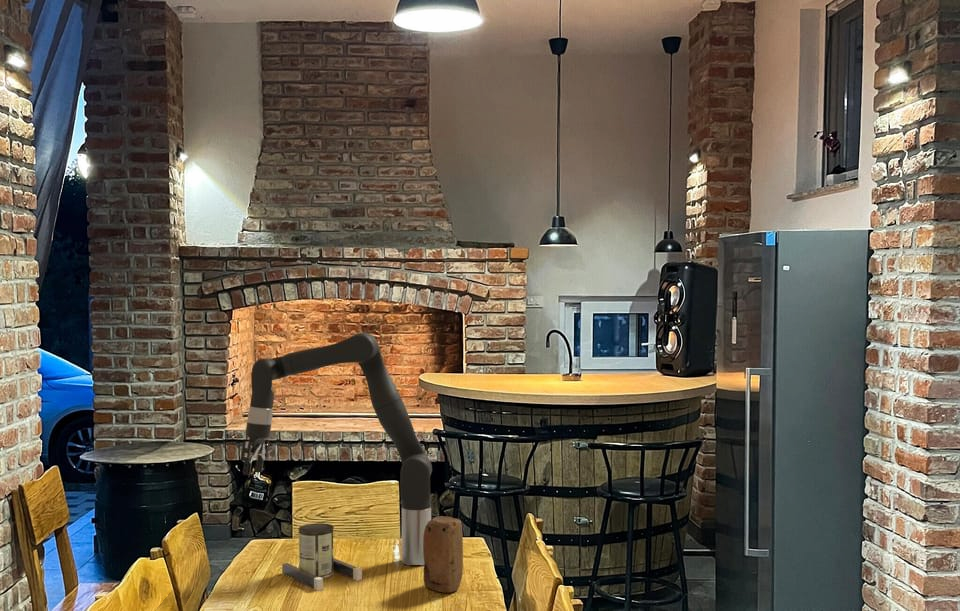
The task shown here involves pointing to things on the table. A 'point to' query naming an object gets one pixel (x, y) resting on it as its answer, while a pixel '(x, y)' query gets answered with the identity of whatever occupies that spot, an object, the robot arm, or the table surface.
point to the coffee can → (316, 549)
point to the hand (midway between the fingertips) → (252, 473)
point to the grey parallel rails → (318, 581)
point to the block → (443, 554)
